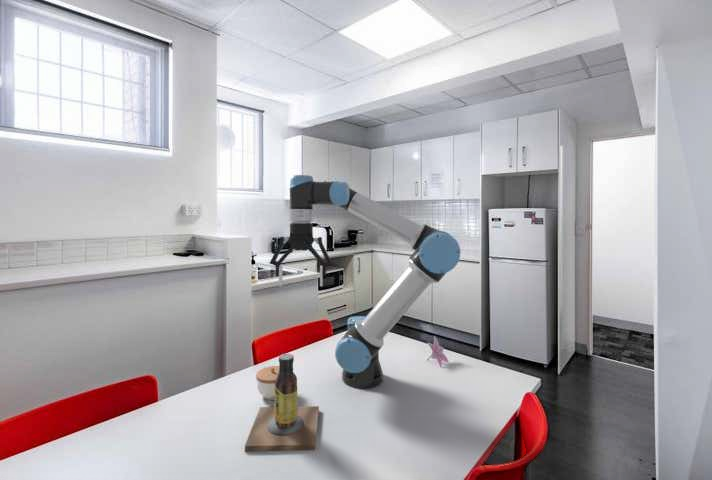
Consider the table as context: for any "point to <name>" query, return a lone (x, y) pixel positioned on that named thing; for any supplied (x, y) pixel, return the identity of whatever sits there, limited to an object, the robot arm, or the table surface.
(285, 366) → the sauce bottle
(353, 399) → the table surface
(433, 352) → the lily
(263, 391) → the lidded jar
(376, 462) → the table surface
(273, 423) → the walnut board
